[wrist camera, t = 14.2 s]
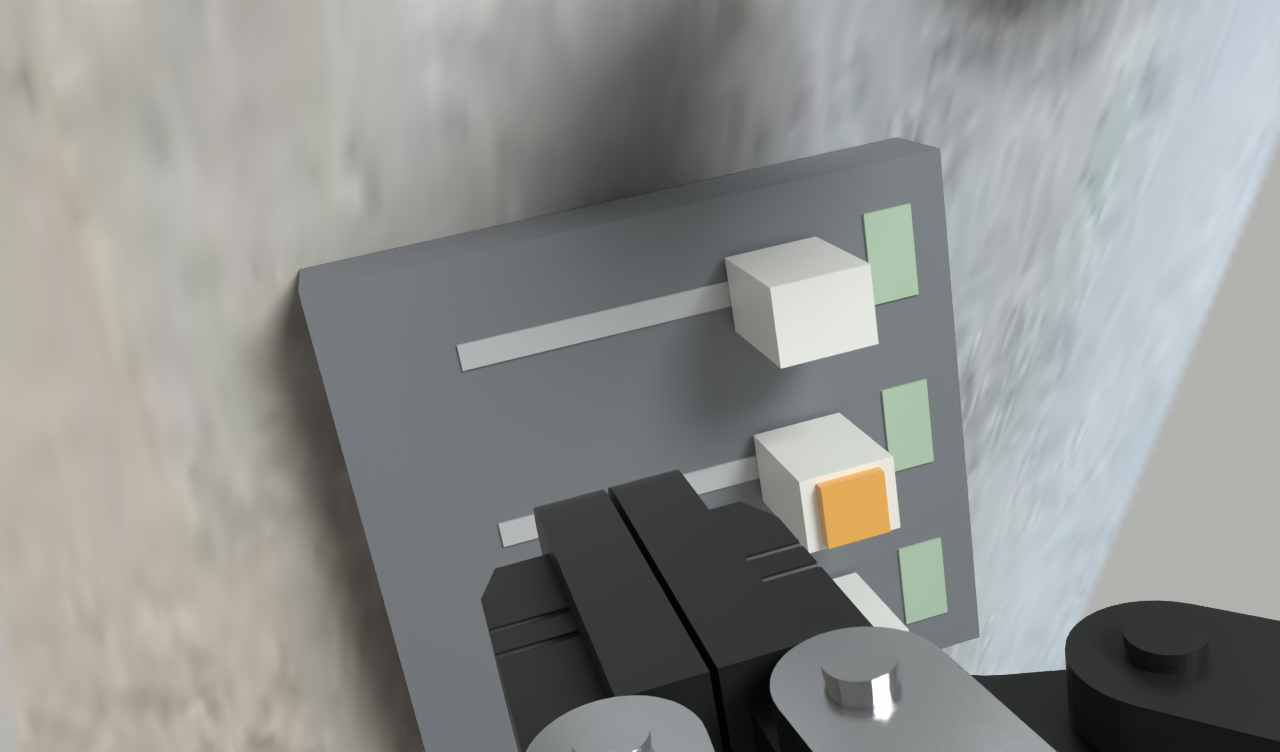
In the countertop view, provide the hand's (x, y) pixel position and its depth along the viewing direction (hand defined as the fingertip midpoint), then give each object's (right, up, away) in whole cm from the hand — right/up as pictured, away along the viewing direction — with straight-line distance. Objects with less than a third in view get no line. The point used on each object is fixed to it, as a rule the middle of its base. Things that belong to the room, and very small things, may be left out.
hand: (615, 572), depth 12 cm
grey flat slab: (+1, -1, +30) cm, 30 cm away
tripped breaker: (+6, -1, +28) cm, 28 cm away
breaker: (+4, +5, +25) cm, 26 cm away
